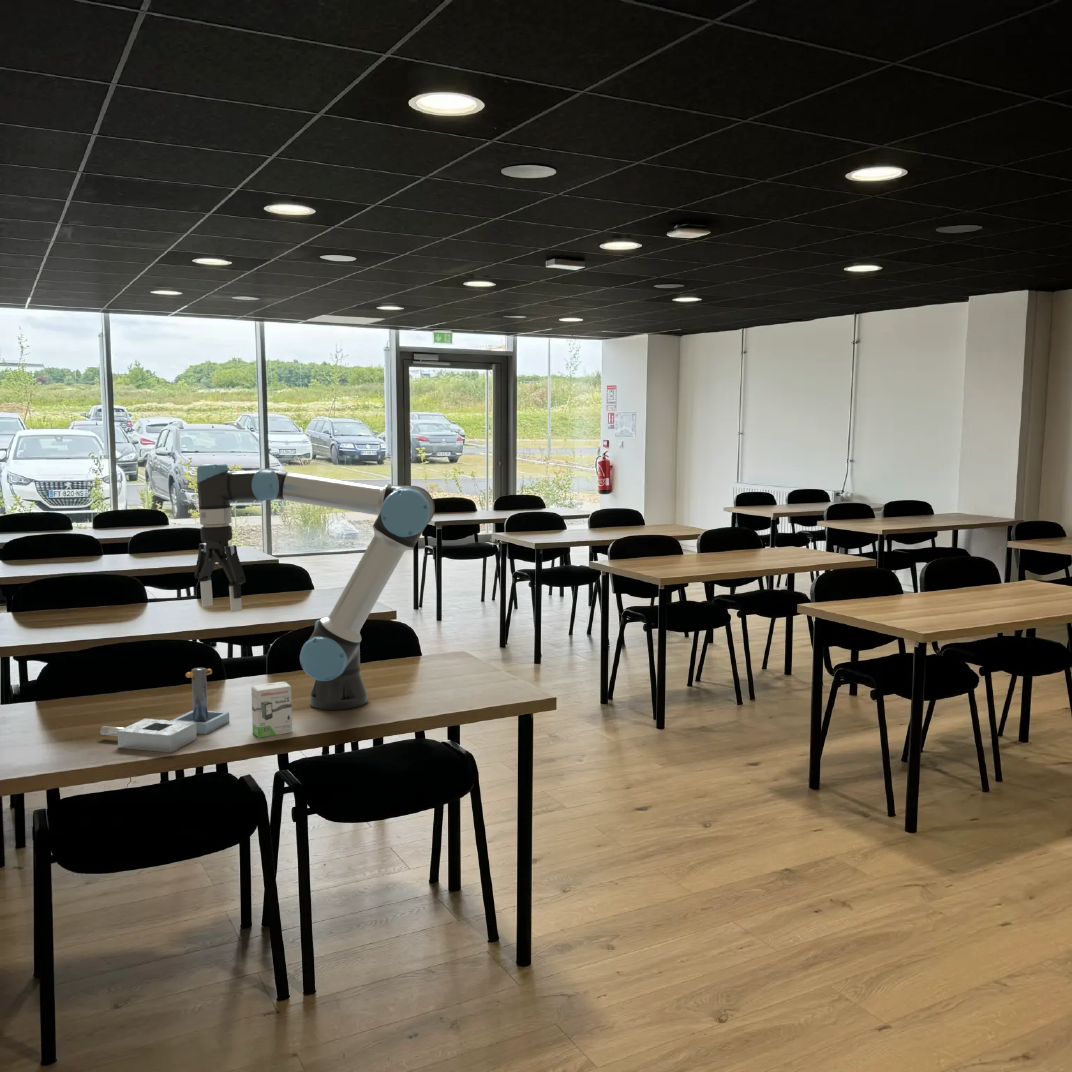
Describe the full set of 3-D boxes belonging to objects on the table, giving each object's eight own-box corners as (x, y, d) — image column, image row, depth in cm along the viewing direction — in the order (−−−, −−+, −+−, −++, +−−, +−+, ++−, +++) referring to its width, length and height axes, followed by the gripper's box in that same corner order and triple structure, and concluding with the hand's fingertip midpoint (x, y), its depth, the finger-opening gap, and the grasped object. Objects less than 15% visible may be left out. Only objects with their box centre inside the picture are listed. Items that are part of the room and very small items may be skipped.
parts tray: (229, 722, 241) (229, 712, 241) (206, 734, 231) (206, 724, 231) (194, 719, 244) (194, 709, 243) (170, 730, 234) (170, 721, 234)
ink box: (258, 738, 228) (256, 690, 227) (252, 733, 232) (250, 685, 231) (293, 732, 233) (291, 685, 232) (286, 727, 237) (285, 680, 236)
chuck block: (196, 739, 228) (196, 722, 227) (170, 752, 218) (170, 735, 218) (117, 732, 233) (116, 716, 233) (88, 744, 223) (87, 728, 223)
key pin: (211, 720, 241) (209, 666, 239) (216, 723, 238) (214, 668, 237) (185, 725, 237) (183, 669, 235) (190, 728, 234) (187, 672, 233)
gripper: (176, 524, 245) (182, 606, 247) (229, 528, 229) (235, 615, 231) (203, 522, 251) (209, 601, 253) (256, 525, 234) (262, 610, 237)
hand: (221, 608), depth 242 cm, fingers open, 13 cm apart
